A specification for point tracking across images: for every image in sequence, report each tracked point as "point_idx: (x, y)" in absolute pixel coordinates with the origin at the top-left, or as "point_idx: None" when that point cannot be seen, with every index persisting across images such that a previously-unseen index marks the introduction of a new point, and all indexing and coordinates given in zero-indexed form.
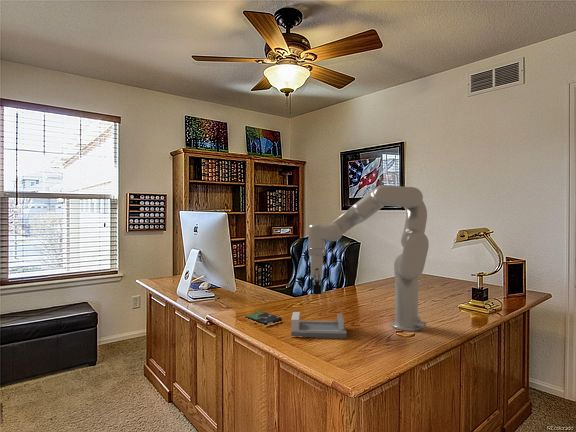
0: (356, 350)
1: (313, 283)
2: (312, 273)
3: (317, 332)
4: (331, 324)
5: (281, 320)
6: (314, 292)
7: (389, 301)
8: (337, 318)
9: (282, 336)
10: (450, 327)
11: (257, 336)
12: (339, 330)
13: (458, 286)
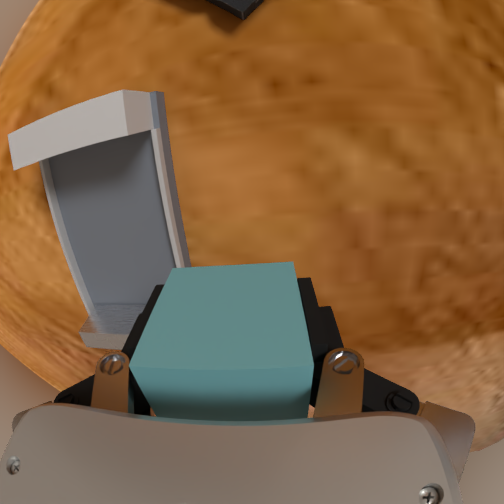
0: (47, 325)
1: (138, 359)
2: (8, 464)
3: (63, 232)
4: None
5: (239, 15)
6: (155, 297)
7: (468, 393)
8: None
9: (56, 88)
10: None
11: (51, 6)
12: (95, 310)
13: (485, 443)
